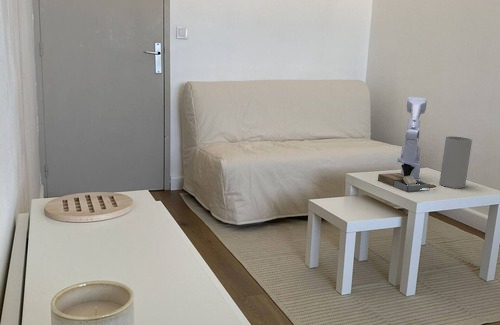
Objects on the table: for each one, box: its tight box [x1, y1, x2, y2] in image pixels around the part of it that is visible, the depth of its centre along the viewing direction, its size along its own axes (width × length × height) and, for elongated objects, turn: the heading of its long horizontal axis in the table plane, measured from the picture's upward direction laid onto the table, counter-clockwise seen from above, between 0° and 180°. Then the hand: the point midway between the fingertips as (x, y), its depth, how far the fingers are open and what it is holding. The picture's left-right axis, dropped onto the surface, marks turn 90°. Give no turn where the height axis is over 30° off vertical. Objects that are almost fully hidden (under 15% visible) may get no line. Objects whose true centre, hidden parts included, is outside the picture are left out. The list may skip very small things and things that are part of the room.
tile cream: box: [403, 176, 417, 185], centre depth 239 cm, size 5×4×2 cm
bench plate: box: [377, 172, 415, 188], centre depth 248 cm, size 14×12×4 cm
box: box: [393, 179, 431, 193], centre depth 238 cm, size 14×10×3 cm
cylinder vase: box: [439, 135, 473, 189], centre depth 246 cm, size 12×12×25 cm
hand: (406, 178), depth 241 cm, fingers closed, pressing on tile cream
